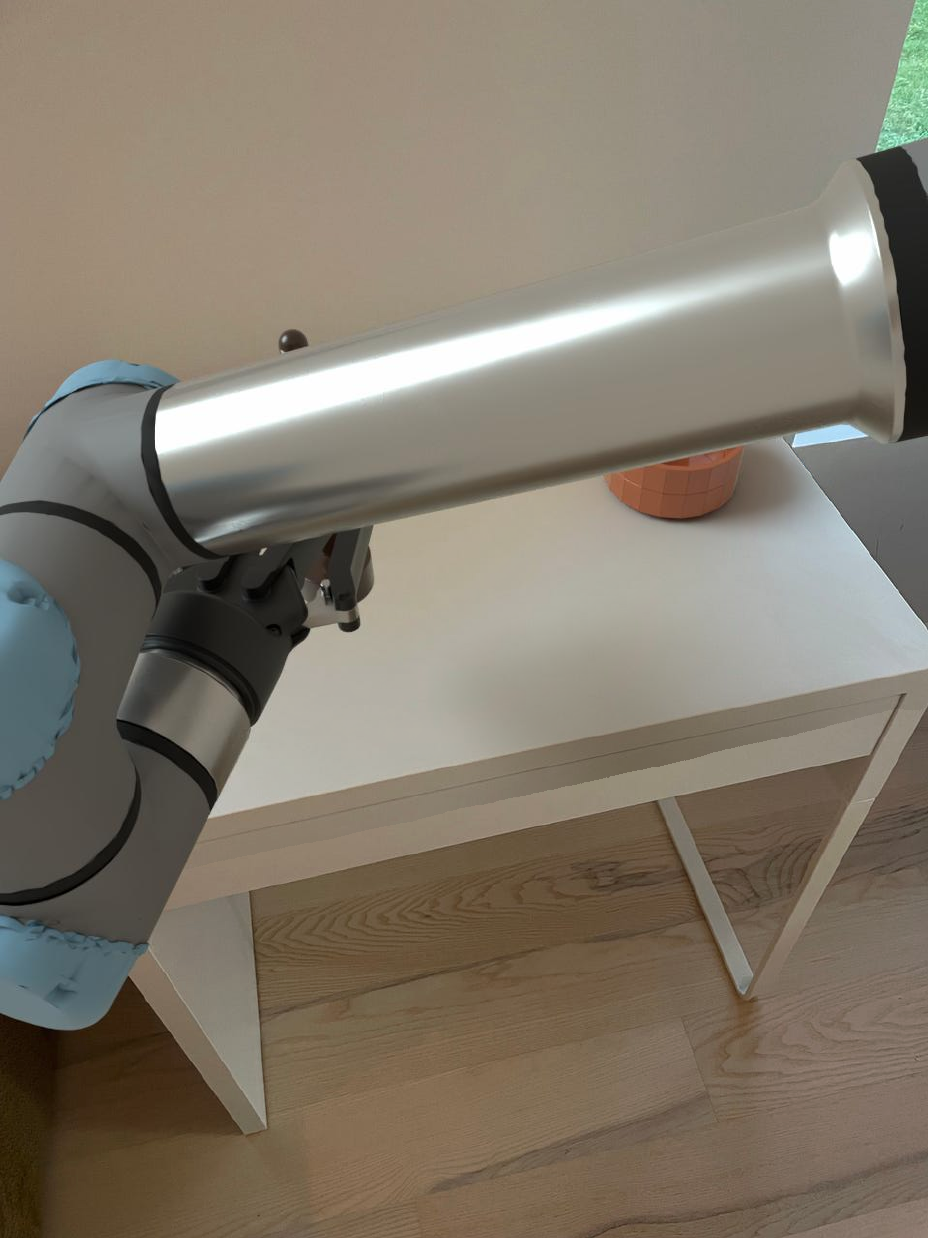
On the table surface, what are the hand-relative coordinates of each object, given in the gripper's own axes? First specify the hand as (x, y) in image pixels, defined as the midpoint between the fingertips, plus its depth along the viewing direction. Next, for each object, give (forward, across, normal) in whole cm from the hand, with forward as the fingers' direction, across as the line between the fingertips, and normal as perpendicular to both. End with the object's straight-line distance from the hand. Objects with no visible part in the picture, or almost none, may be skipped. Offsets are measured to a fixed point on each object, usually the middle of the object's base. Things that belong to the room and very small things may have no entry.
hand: (346, 413), depth 62 cm
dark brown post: (-6, 0, -10) cm, 11 cm away
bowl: (+24, +20, -21) cm, 38 cm away
